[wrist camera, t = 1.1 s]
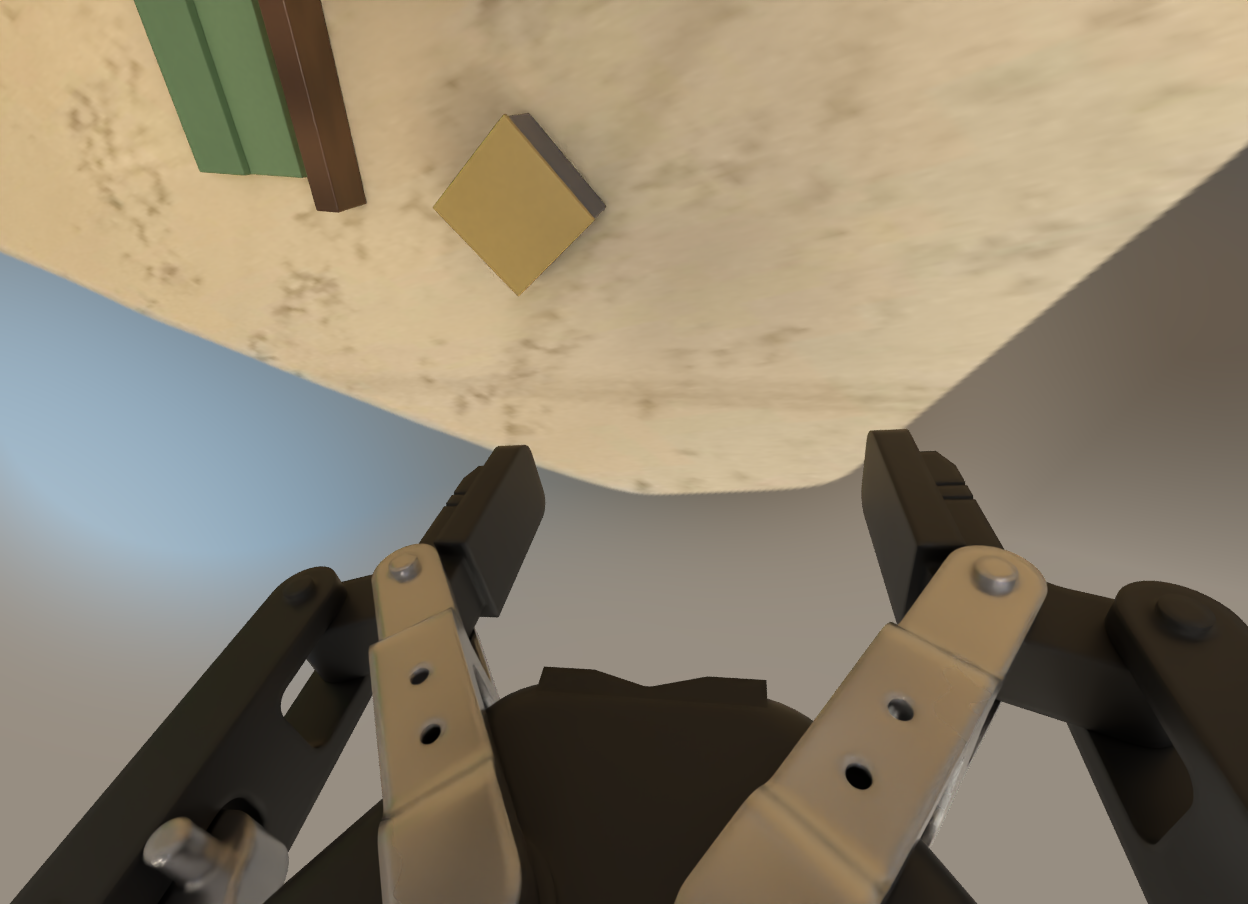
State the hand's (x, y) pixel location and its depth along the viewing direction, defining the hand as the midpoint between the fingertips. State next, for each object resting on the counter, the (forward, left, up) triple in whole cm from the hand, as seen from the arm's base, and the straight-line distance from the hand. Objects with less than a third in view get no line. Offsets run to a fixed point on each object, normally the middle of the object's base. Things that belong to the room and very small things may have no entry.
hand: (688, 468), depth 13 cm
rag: (-25, -17, -24) cm, 38 cm away
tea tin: (-9, -7, -24) cm, 26 cm away
